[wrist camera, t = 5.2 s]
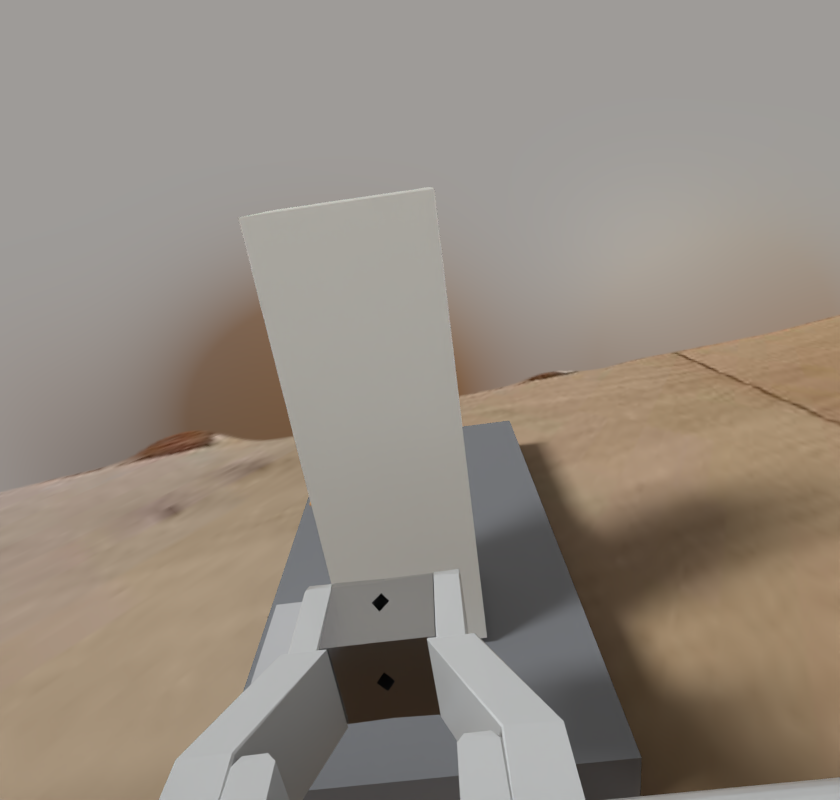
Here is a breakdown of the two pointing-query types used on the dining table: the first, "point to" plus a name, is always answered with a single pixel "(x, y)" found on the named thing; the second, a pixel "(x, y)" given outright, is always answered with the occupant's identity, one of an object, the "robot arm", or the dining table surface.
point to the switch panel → (506, 635)
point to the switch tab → (371, 383)
